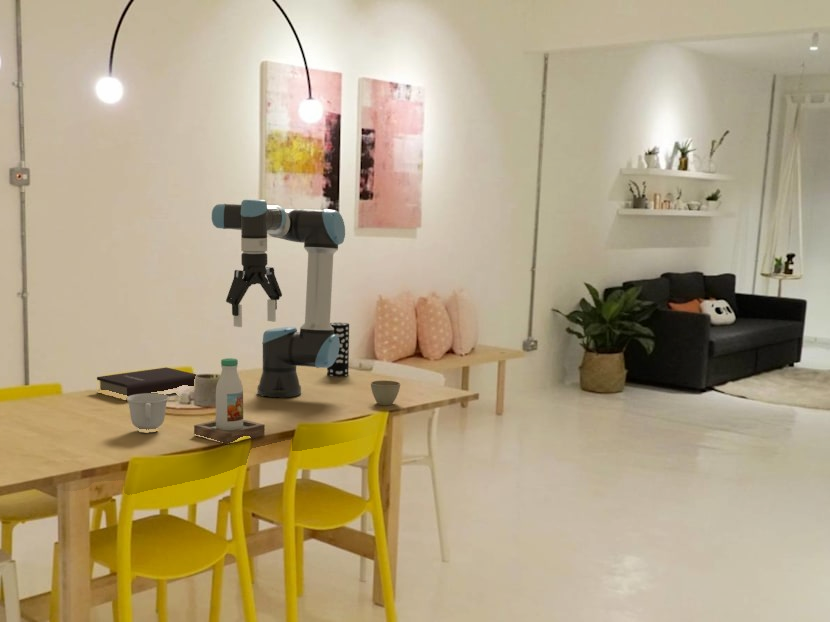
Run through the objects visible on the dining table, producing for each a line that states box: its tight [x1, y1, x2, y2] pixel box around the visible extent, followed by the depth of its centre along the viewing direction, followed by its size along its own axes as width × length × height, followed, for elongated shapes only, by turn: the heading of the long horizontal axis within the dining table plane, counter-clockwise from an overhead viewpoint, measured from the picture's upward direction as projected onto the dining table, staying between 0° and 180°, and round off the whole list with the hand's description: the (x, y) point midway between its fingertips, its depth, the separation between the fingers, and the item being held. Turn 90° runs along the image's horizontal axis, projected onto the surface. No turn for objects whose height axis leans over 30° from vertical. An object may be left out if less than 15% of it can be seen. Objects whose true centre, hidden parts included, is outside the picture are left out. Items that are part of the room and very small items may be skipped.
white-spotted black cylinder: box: [326, 322, 350, 378], centre depth 364 cm, size 8×8×20 cm
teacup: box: [126, 393, 170, 430], centre depth 269 cm, size 12×15×10 cm
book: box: [96, 366, 197, 396], centre depth 325 cm, size 28×20×6 cm
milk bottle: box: [215, 357, 244, 431], centre depth 267 cm, size 8×8×20 cm
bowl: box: [370, 379, 401, 406], centre depth 315 cm, size 10×10×7 cm
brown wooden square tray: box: [193, 419, 266, 445], centre depth 268 cm, size 14×14×3 cm
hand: (255, 323), depth 278 cm, fingers open, 13 cm apart
